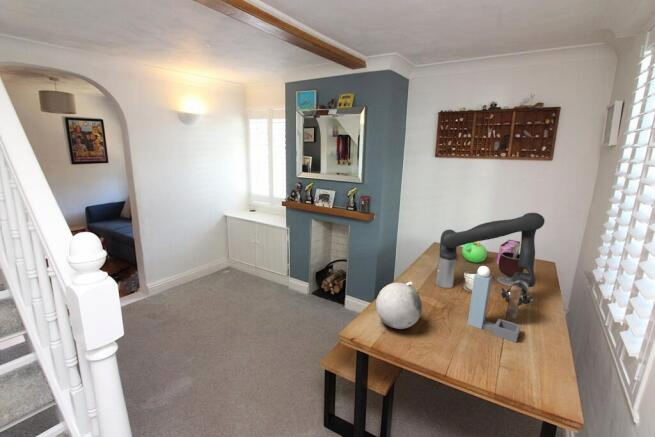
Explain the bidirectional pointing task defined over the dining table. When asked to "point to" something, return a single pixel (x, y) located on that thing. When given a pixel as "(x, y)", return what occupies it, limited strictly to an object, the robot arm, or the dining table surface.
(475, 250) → the green rounded lump
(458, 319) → the dining table surface
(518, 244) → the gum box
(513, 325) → the post
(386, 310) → the moon model
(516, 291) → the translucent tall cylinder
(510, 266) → the mate gourd
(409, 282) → the bull figurine
